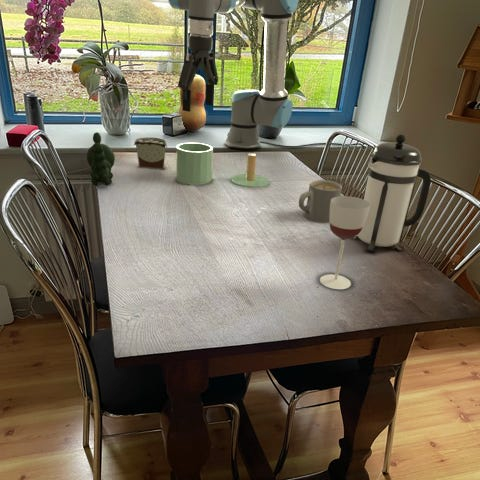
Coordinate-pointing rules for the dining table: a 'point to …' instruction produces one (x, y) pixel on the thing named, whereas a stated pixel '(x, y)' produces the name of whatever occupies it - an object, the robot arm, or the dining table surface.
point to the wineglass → (345, 230)
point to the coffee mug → (319, 199)
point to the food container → (151, 152)
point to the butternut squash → (194, 106)
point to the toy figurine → (100, 161)
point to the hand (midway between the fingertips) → (198, 108)
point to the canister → (194, 163)
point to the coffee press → (392, 193)
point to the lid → (250, 175)
